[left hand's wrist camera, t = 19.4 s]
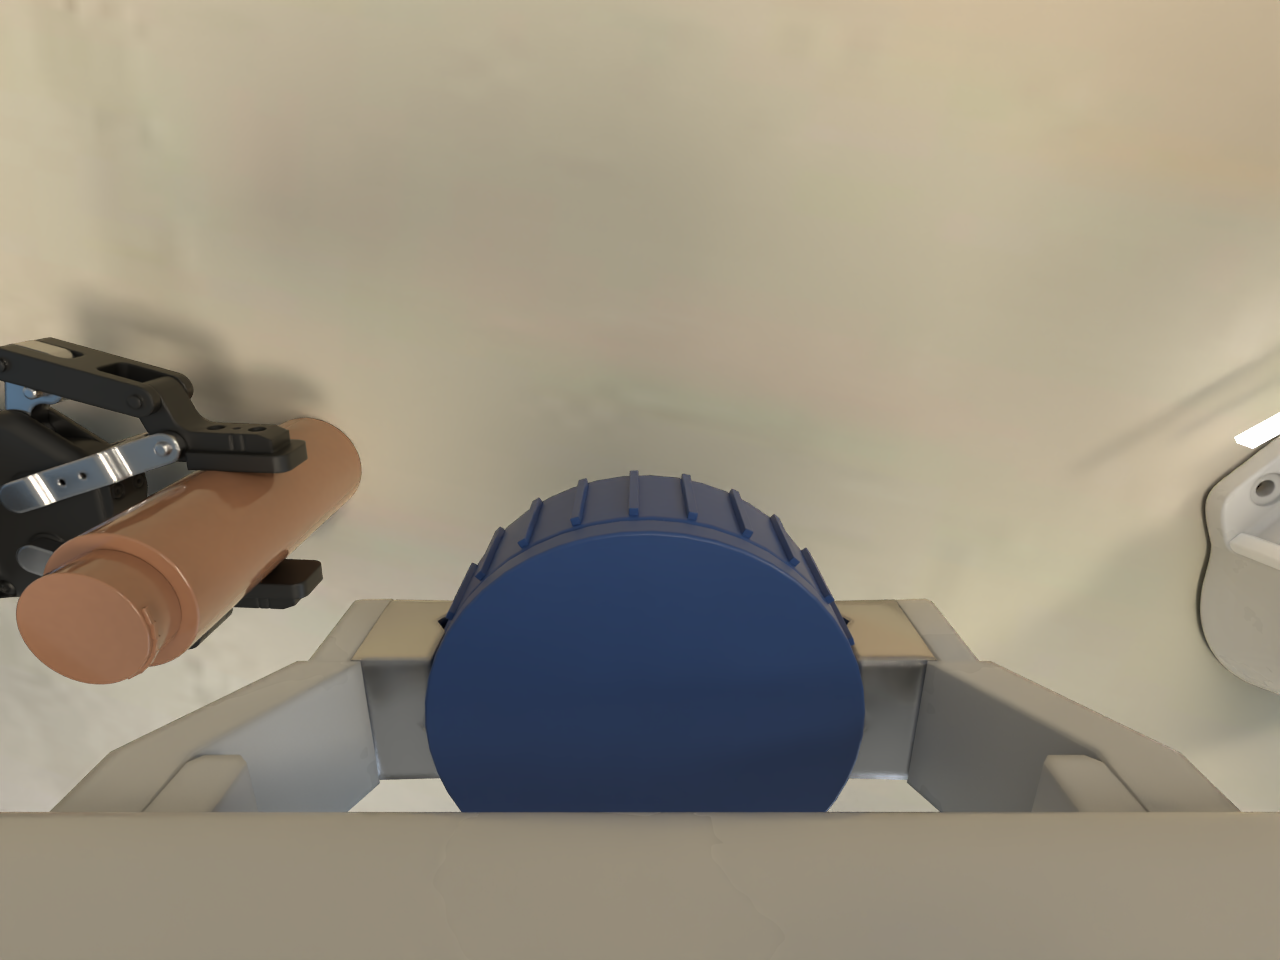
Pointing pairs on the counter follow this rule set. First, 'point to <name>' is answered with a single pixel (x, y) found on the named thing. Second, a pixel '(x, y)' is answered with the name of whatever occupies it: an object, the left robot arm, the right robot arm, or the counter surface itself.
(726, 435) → the counter surface
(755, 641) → the lid
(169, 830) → the left robot arm
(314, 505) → the jar
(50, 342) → the right robot arm
